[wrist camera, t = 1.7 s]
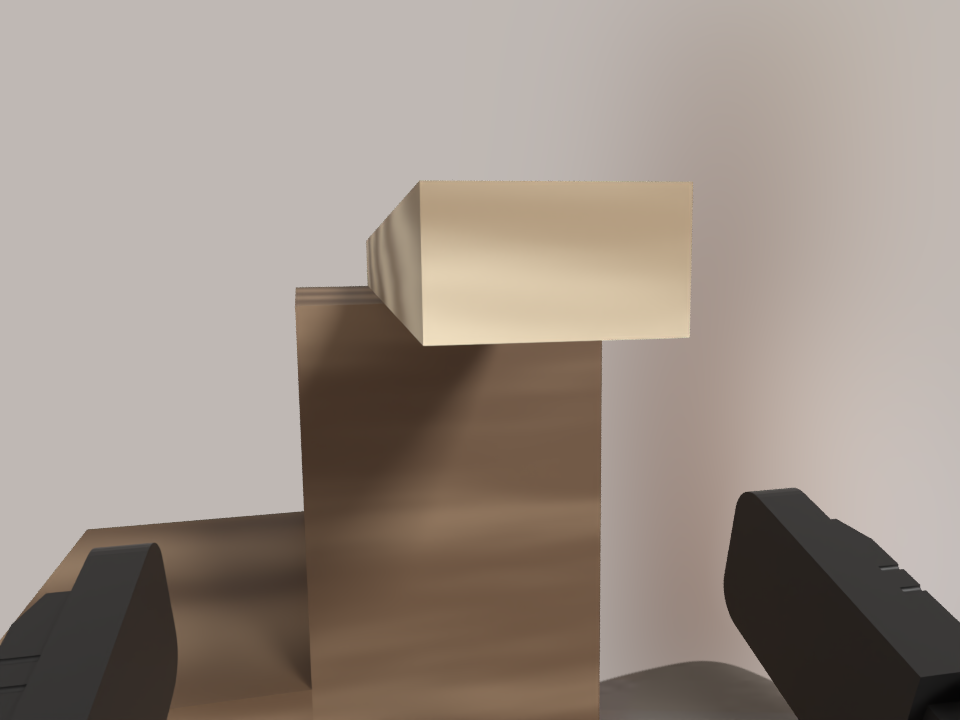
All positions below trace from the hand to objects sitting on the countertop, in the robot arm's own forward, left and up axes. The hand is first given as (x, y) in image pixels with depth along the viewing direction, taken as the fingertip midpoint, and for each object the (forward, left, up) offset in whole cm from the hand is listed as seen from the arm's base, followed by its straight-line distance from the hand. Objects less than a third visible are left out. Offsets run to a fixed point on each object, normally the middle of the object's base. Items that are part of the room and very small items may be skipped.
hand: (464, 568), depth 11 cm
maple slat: (-9, -8, +3) cm, 13 cm away
